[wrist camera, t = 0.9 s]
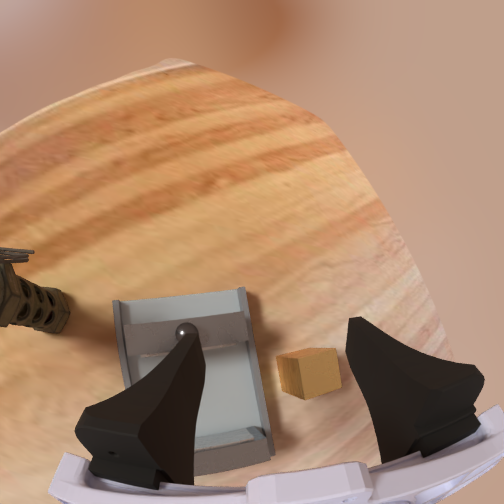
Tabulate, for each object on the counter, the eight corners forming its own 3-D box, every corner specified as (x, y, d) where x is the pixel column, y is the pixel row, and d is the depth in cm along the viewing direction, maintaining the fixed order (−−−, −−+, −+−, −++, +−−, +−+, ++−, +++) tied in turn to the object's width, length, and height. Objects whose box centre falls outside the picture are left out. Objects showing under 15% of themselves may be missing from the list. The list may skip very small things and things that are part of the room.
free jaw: (238, 342, 26) (252, 343, 21) (134, 355, 23) (126, 359, 18) (233, 314, 27) (247, 309, 22) (130, 326, 24) (121, 324, 19)
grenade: (80, 278, 24) (9, 220, 11) (78, 335, 23) (-4, 327, 9) (15, 273, 22) (-68, 221, 8) (11, 325, 20) (-81, 305, 7)
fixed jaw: (257, 445, 23) (270, 459, 20) (160, 462, 20) (160, 480, 17) (253, 423, 24) (265, 435, 20) (154, 439, 21) (151, 455, 17)
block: (314, 381, 28) (341, 387, 23) (281, 391, 27) (304, 400, 22) (309, 347, 29) (335, 348, 24) (275, 355, 28) (298, 358, 23)
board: (270, 448, 24) (276, 454, 23) (150, 469, 20) (149, 477, 19) (241, 290, 29) (245, 286, 27) (115, 303, 25) (111, 300, 23)
